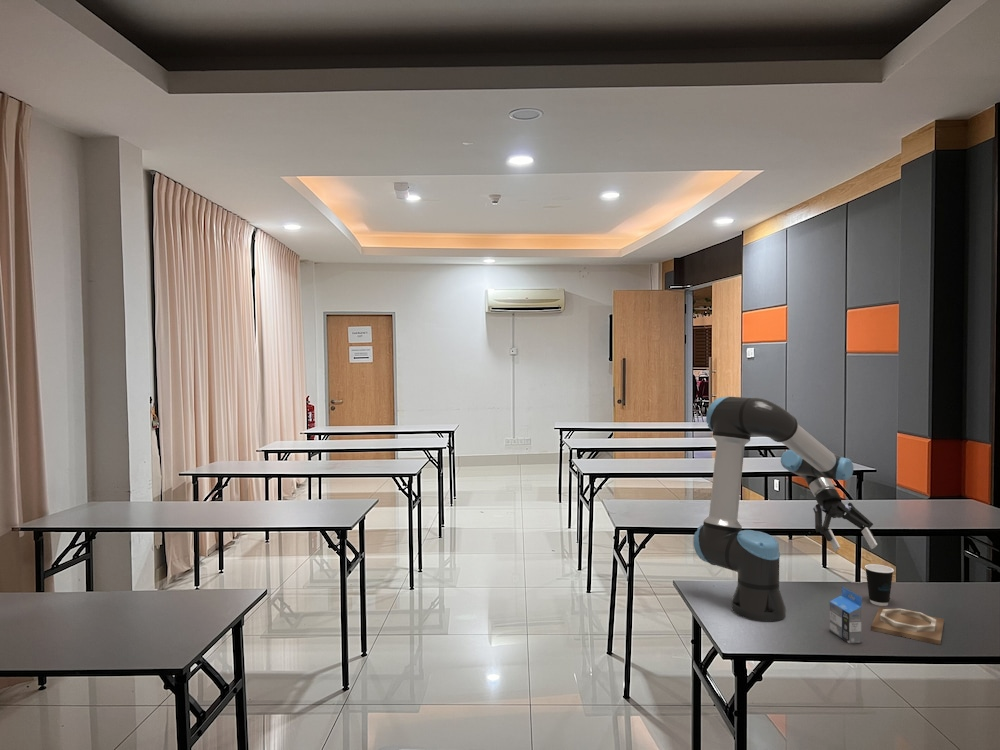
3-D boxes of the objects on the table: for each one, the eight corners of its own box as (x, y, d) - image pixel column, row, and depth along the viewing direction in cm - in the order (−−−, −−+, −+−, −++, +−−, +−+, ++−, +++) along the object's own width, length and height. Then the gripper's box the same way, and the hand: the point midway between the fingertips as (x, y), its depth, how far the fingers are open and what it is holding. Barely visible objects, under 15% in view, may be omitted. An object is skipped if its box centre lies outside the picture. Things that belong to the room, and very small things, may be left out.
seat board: (871, 630, 179) (871, 620, 179) (879, 610, 193) (879, 602, 193) (940, 644, 169) (940, 635, 169) (944, 623, 184) (944, 614, 183)
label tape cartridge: (828, 630, 179) (828, 586, 179) (841, 629, 179) (841, 586, 179) (848, 644, 170) (848, 597, 170) (862, 643, 171) (862, 597, 170)
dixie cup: (871, 596, 205) (871, 562, 205) (898, 603, 199) (898, 568, 198) (859, 602, 200) (859, 567, 200) (887, 609, 194) (887, 573, 194)
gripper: (851, 497, 229) (883, 551, 214) (788, 500, 225) (816, 555, 210) (862, 485, 224) (895, 540, 209) (797, 488, 219) (827, 544, 205)
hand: (856, 548), depth 210 cm, fingers open, 13 cm apart
